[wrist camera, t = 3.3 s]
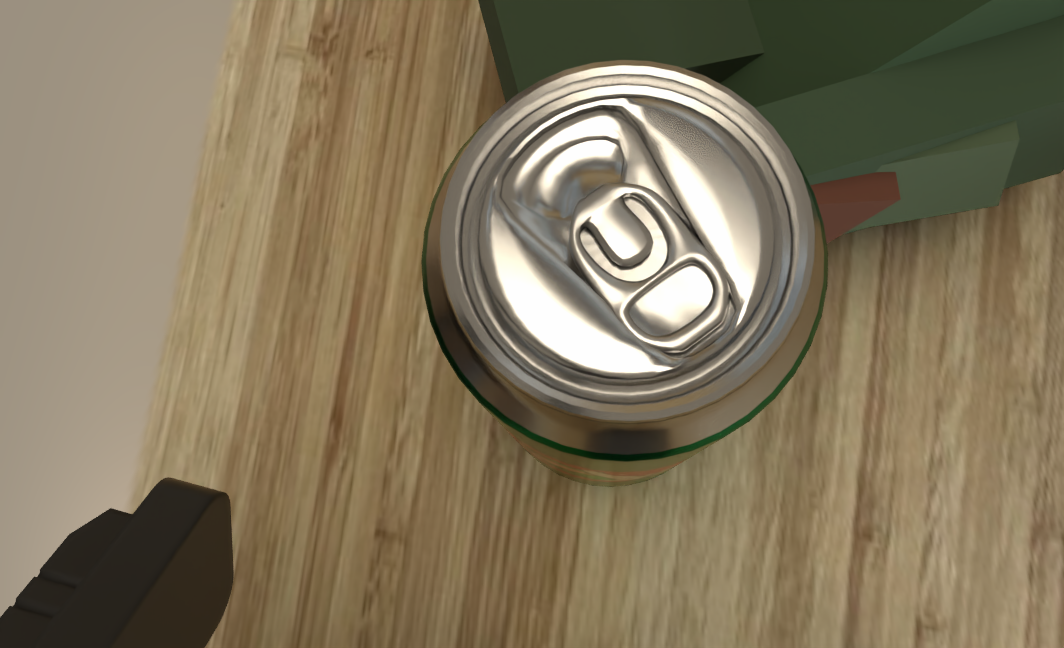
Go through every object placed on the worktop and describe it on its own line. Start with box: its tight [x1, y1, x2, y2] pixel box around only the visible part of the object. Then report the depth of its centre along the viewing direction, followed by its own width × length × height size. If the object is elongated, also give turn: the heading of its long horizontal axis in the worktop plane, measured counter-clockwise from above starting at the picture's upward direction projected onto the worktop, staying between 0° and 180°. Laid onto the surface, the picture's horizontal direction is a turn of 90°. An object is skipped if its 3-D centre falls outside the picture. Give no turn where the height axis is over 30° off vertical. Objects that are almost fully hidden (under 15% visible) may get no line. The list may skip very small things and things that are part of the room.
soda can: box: [422, 60, 828, 487], centre depth 17 cm, size 5×5×12 cm
